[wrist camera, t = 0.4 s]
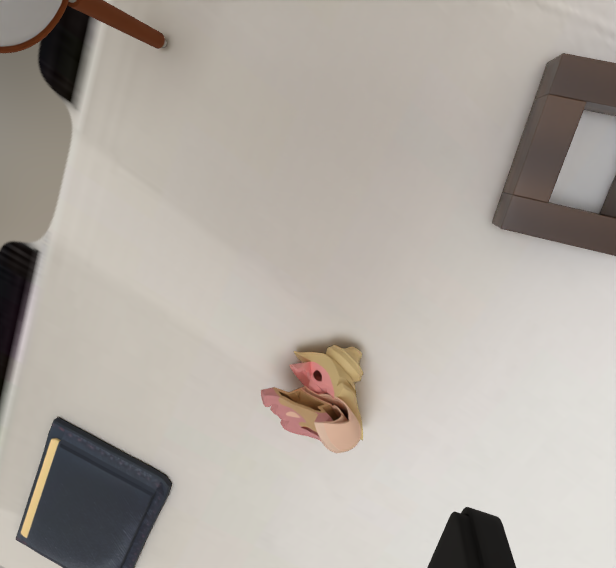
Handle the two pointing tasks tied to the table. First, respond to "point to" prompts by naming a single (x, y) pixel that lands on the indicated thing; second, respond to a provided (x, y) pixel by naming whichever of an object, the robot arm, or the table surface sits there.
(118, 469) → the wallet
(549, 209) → the stand
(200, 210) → the table surface
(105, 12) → the magnifying glass
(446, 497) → the table surface
